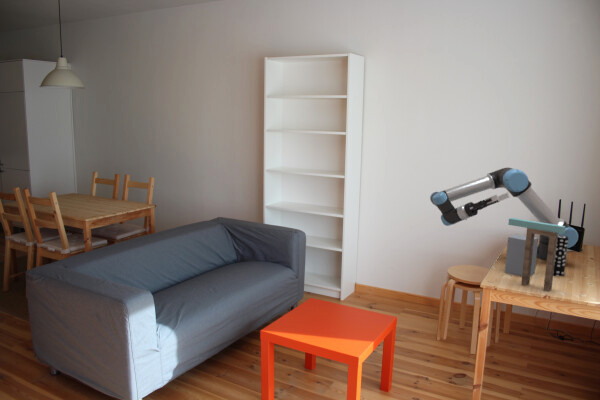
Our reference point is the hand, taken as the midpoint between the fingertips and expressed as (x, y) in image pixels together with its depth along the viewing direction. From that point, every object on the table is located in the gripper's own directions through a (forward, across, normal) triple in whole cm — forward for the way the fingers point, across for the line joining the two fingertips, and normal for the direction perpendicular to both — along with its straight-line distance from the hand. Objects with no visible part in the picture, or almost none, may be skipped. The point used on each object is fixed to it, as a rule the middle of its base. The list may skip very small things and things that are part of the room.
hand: (503, 195), depth 240 cm
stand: (+1, +11, -47) cm, 48 cm away
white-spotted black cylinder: (0, -19, -46) cm, 50 cm away
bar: (+12, +11, -21) cm, 26 cm away
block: (-12, -6, -40) cm, 42 cm away
